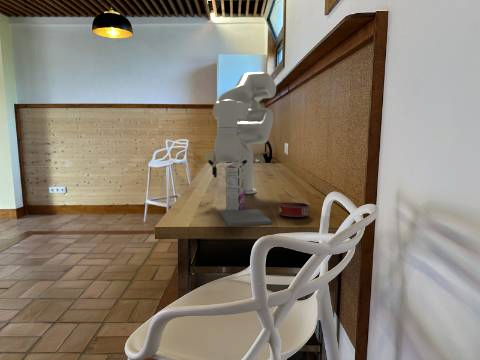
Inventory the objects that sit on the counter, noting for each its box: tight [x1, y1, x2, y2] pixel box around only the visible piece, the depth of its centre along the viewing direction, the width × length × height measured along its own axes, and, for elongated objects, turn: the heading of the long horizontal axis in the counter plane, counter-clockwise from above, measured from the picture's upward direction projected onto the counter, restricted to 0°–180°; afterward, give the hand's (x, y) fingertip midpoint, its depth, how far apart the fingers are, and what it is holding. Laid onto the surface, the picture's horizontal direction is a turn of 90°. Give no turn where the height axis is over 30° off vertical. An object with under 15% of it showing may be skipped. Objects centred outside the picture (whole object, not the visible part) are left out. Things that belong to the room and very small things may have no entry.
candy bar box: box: [225, 163, 246, 210], centre depth 117 cm, size 11×5×16 cm, turn 169°
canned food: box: [278, 187, 310, 218], centre depth 108 cm, size 11×10×10 cm
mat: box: [219, 208, 272, 227], centre depth 105 cm, size 16×13×1 cm
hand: (227, 176), depth 130 cm, fingers open, 9 cm apart
